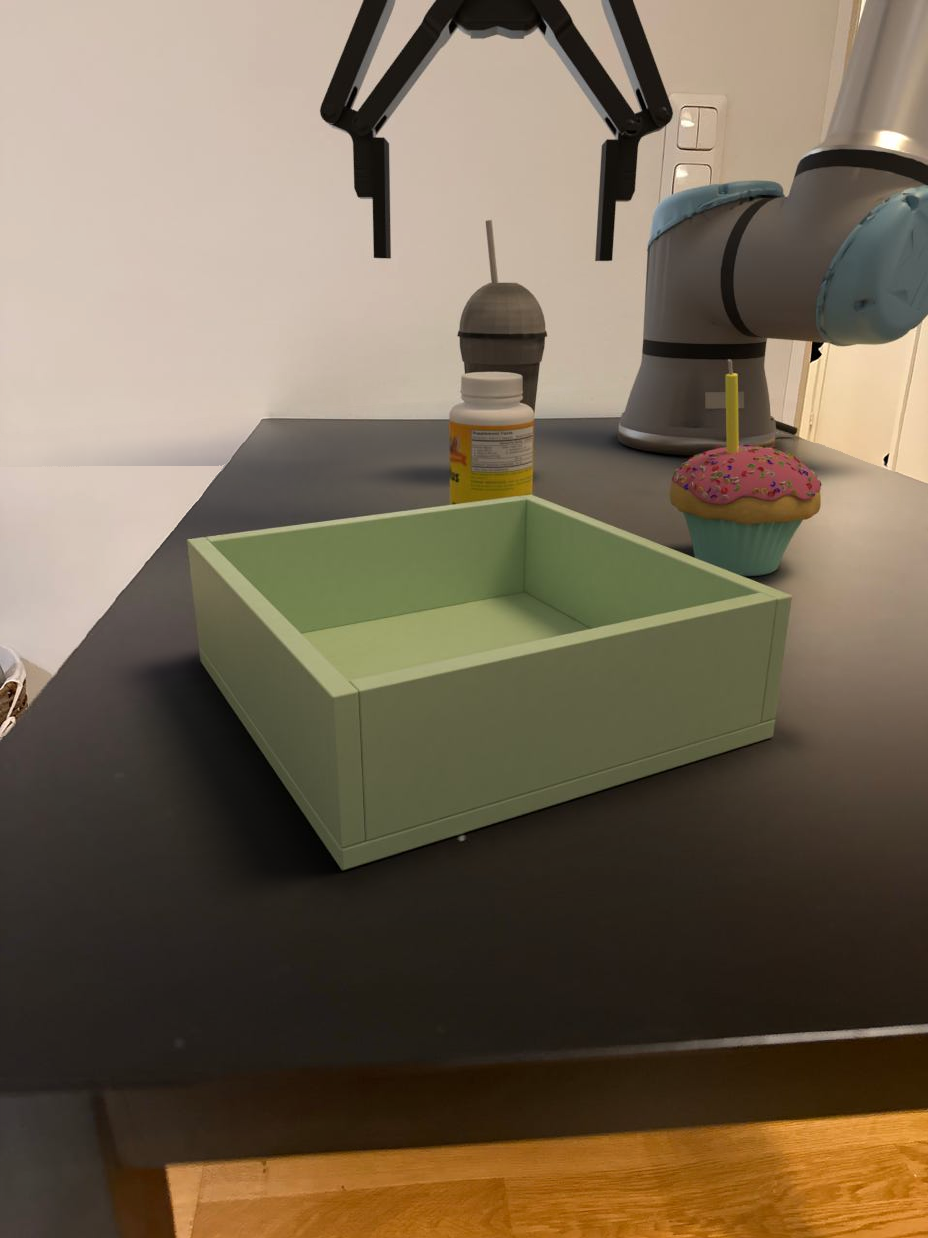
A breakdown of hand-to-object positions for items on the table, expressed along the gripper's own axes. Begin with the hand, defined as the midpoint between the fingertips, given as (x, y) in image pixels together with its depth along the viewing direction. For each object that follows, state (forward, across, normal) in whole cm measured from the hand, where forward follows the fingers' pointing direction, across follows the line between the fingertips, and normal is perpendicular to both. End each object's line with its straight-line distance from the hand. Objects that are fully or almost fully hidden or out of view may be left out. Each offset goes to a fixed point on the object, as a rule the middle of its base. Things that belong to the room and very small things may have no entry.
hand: (492, 260), depth 57 cm
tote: (+17, -1, -26) cm, 31 cm away
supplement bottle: (+17, 0, 0) cm, 17 cm away
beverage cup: (+17, +1, +17) cm, 24 cm away
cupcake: (+17, +15, -7) cm, 24 cm away
